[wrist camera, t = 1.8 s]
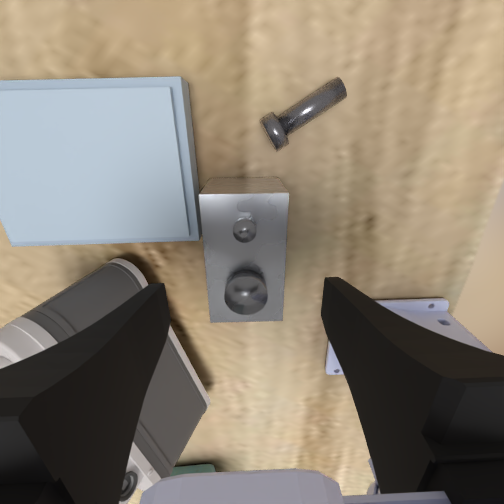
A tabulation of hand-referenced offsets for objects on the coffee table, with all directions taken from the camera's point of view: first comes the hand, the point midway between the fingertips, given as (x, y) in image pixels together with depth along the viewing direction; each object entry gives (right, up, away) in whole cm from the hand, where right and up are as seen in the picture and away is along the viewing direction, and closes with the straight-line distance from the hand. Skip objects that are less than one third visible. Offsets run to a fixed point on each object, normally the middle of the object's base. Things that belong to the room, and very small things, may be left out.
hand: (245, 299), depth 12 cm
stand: (-9, +8, +5) cm, 13 cm away
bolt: (+4, +11, +4) cm, 12 cm away
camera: (-10, -6, +12) cm, 17 cm away
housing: (0, +4, +7) cm, 8 cm away
